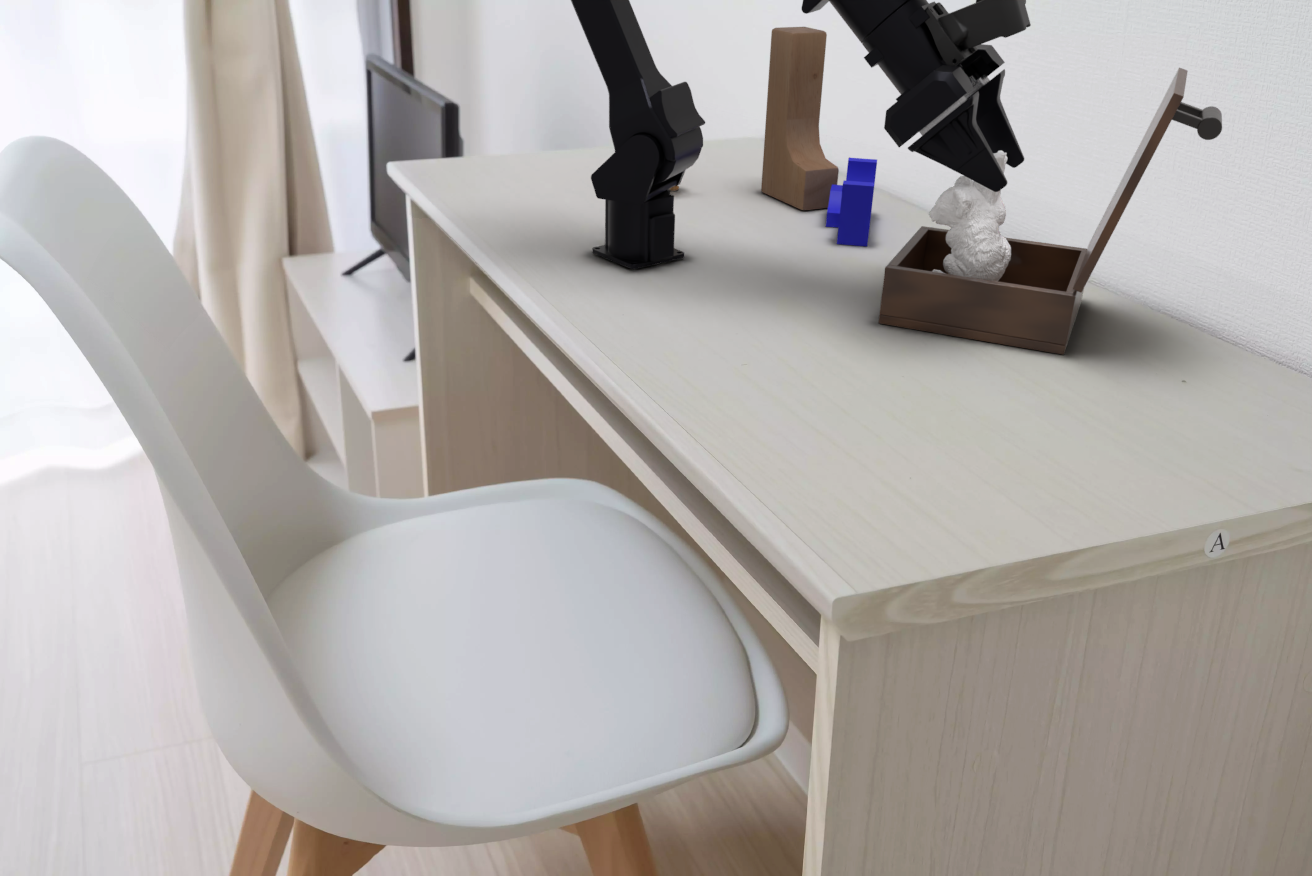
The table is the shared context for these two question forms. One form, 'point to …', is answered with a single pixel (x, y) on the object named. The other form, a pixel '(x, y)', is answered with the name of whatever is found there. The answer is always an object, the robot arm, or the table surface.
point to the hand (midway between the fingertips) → (1011, 175)
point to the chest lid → (1169, 109)
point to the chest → (985, 294)
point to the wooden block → (796, 121)
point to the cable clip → (853, 203)
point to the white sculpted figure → (973, 228)
